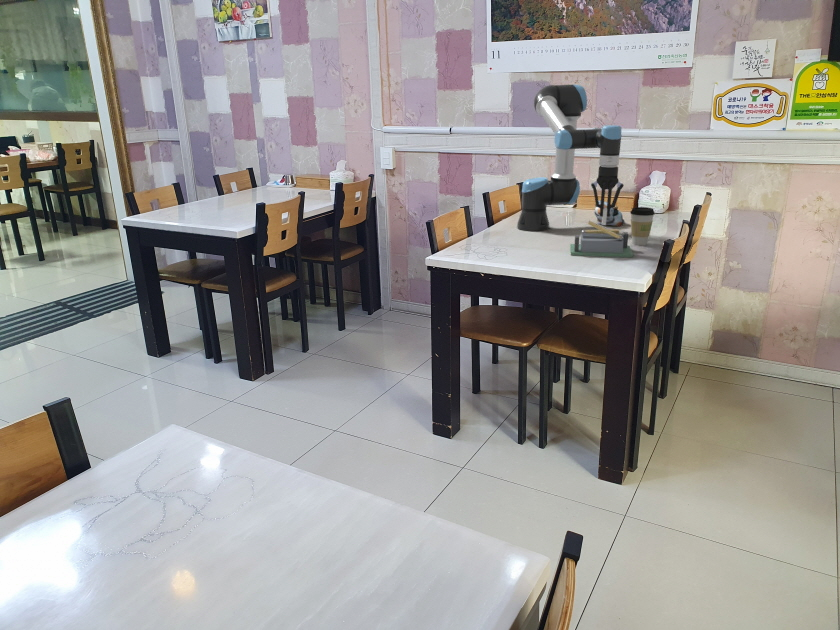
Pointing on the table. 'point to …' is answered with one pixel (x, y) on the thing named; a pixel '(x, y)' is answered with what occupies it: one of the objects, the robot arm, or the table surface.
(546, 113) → the robot arm
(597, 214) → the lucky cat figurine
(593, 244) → the heatsink module
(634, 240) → the coffee cup
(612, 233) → the strap
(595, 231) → the rear strap
